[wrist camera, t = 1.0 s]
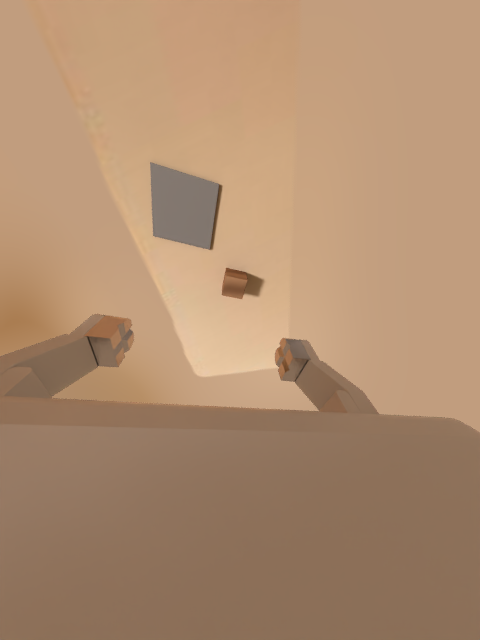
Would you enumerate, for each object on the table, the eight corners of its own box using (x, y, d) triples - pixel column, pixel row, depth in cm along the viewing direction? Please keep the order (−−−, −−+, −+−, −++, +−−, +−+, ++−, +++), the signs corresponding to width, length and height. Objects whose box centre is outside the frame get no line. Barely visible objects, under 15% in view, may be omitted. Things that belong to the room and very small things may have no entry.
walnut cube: (226, 267, 42) (226, 275, 38) (245, 272, 43) (247, 280, 39) (222, 285, 45) (221, 295, 41) (240, 289, 46) (242, 299, 42)
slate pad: (151, 162, 30) (150, 162, 30) (219, 184, 32) (219, 184, 32) (154, 235, 37) (153, 235, 37) (209, 248, 39) (209, 249, 39)
